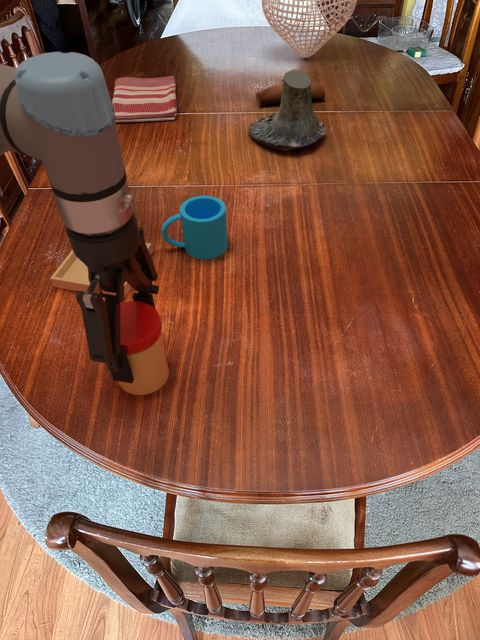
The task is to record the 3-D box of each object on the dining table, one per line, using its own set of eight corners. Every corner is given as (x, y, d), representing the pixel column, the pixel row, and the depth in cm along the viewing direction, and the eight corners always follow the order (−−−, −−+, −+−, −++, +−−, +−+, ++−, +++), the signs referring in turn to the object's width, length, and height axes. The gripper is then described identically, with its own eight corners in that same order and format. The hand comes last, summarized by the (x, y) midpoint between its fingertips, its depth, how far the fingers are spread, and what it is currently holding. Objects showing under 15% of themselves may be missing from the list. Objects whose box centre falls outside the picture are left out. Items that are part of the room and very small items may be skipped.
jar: (109, 389, 74) (90, 341, 66) (129, 351, 79) (115, 302, 71) (158, 399, 73) (145, 352, 65) (176, 360, 77) (166, 311, 69)
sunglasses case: (315, 87, 142) (321, 70, 136) (321, 109, 141) (327, 93, 135) (253, 93, 139) (256, 76, 133) (258, 116, 138) (261, 99, 132)
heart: (340, 45, 165) (350, -39, 149) (356, 63, 155) (368, -25, 139) (256, 51, 161) (256, -35, 144) (267, 70, 151) (268, -20, 135)
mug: (224, 230, 99) (221, 193, 93) (231, 256, 94) (229, 218, 88) (162, 238, 97) (156, 200, 91) (166, 264, 92) (159, 227, 86)
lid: (166, 310, 71) (164, 301, 70) (156, 355, 66) (154, 345, 64) (108, 309, 71) (105, 300, 70) (93, 353, 66) (90, 344, 64)
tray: (53, 287, 88) (49, 278, 87) (87, 241, 97) (85, 233, 95) (124, 299, 86) (121, 290, 85) (152, 252, 95) (151, 243, 93)
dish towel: (175, 83, 145) (174, 73, 143) (178, 120, 129) (176, 110, 127) (115, 86, 143) (113, 76, 141) (110, 124, 128) (108, 114, 126)
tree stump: (305, 114, 133) (321, 46, 118) (332, 167, 125) (353, 102, 109) (239, 120, 129) (246, 50, 113) (262, 176, 120) (273, 109, 105)
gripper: (87, 289, 47) (132, 421, 64) (167, 170, 61) (186, 304, 78) (14, 277, 48) (78, 410, 65) (109, 163, 62) (141, 297, 79)
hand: (137, 352), depth 72 cm, fingers open, 9 cm apart
